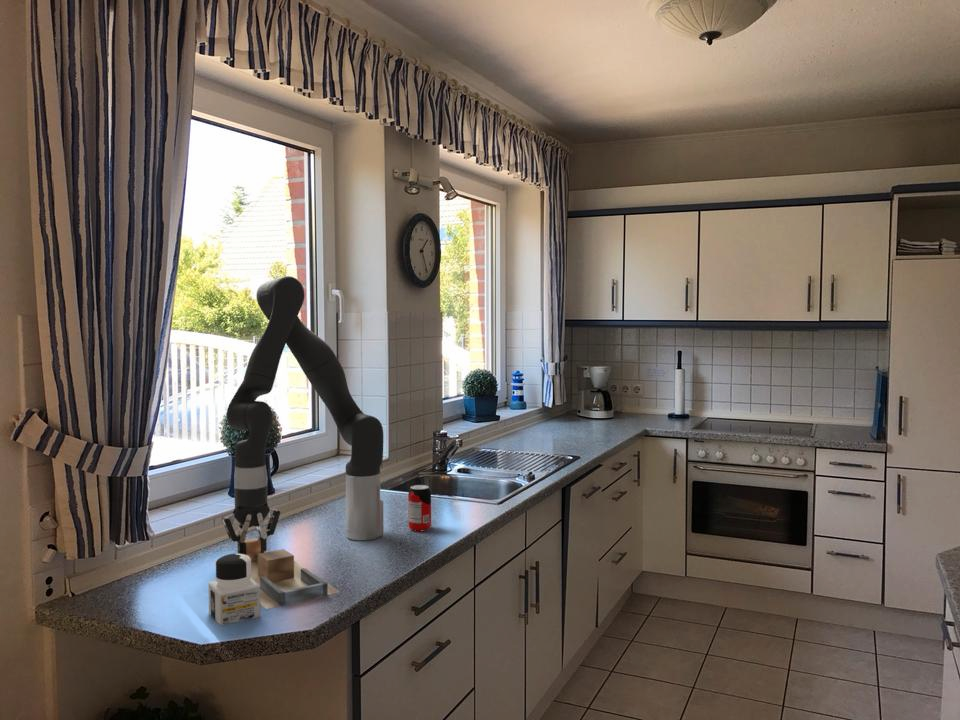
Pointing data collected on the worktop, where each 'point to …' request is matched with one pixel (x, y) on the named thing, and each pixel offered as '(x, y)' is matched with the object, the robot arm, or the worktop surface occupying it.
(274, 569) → the wooden joystick
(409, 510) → the beverage can
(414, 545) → the worktop surface
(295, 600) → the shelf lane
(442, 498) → the worktop surface
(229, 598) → the container
